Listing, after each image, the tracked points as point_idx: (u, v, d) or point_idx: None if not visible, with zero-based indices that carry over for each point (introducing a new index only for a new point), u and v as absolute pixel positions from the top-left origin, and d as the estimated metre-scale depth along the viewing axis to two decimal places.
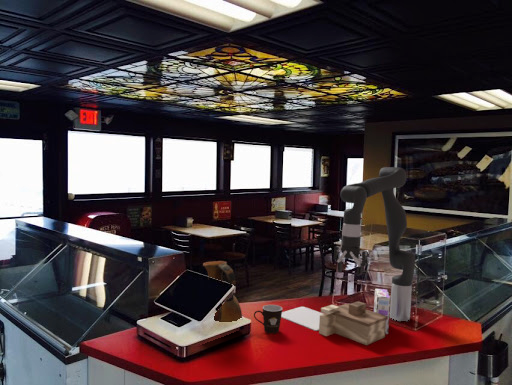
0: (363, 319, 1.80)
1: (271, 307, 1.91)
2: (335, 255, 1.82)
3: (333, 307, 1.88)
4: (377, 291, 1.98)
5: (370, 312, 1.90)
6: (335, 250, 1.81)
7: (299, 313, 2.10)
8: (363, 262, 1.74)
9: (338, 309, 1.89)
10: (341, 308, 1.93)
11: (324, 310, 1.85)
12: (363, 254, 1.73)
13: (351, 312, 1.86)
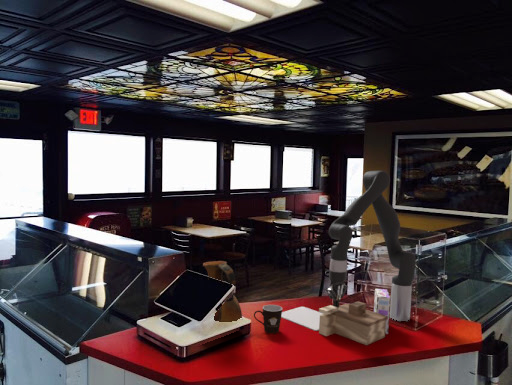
0: (363, 319, 1.80)
1: (271, 307, 1.91)
2: (334, 295, 1.87)
3: (331, 308, 1.87)
4: (377, 291, 1.98)
5: (370, 312, 1.90)
6: (332, 292, 1.86)
7: (299, 313, 2.10)
8: (343, 294, 1.92)
9: (336, 310, 1.88)
10: (341, 308, 1.93)
11: (322, 311, 1.85)
12: (346, 288, 1.93)
13: (351, 312, 1.86)
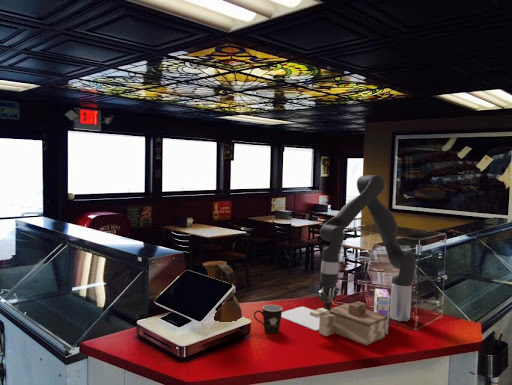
0: (363, 319, 1.80)
1: (271, 307, 1.91)
2: (325, 298, 1.83)
3: (322, 310, 1.83)
4: (377, 291, 1.98)
5: (370, 312, 1.90)
6: (323, 295, 1.82)
7: (299, 313, 2.10)
8: (334, 297, 1.88)
9: (328, 312, 1.84)
10: (341, 308, 1.93)
11: (313, 313, 1.80)
12: (337, 290, 1.89)
13: (351, 312, 1.86)
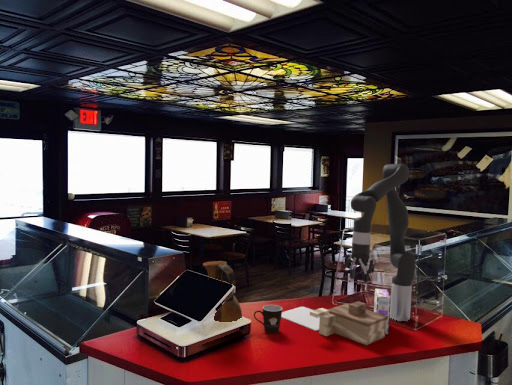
0: (363, 319, 1.80)
1: (271, 307, 1.91)
2: None
3: (322, 310, 1.83)
4: (377, 291, 1.98)
5: (370, 312, 1.90)
6: None
7: (299, 313, 2.10)
8: None
9: (327, 312, 1.84)
10: (341, 308, 1.93)
11: (313, 314, 1.80)
12: None
13: (351, 312, 1.86)
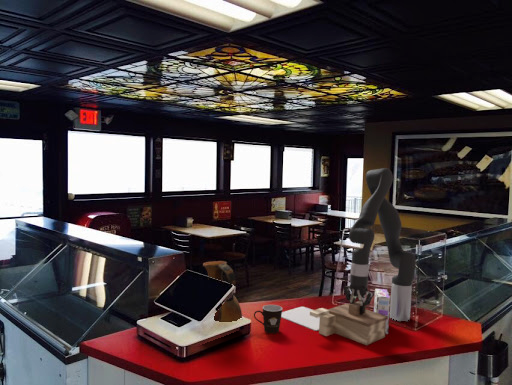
0: (363, 319, 1.80)
1: (271, 307, 1.91)
2: None
3: (322, 310, 1.83)
4: (377, 291, 1.98)
5: (370, 312, 1.90)
6: None
7: (299, 313, 2.10)
8: None
9: (327, 312, 1.84)
10: (341, 308, 1.93)
11: (313, 314, 1.80)
12: None
13: (351, 312, 1.86)
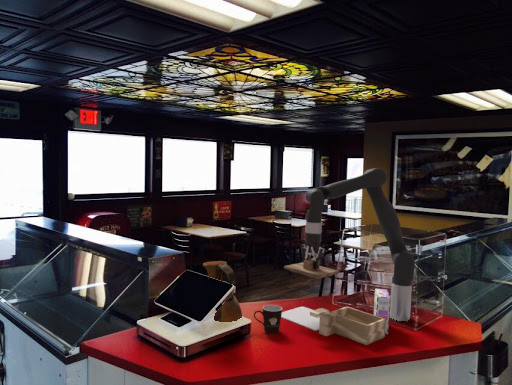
0: (315, 272, 1.96)
1: (271, 307, 1.91)
2: None
3: (322, 310, 1.83)
4: (377, 291, 1.98)
5: (324, 267, 2.06)
6: None
7: (299, 313, 2.10)
8: None
9: (327, 312, 1.84)
10: (298, 265, 2.09)
11: (313, 314, 1.80)
12: None
13: (305, 267, 2.02)
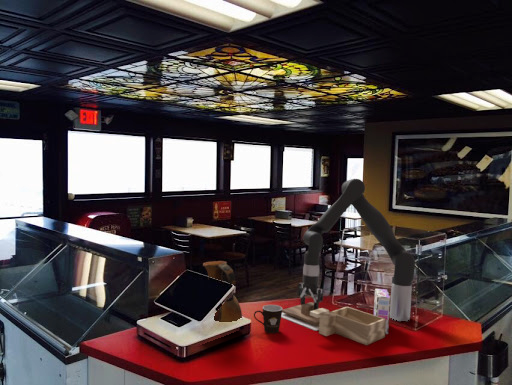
0: (313, 318, 1.98)
1: (271, 307, 1.91)
2: None
3: (322, 310, 1.83)
4: (377, 291, 1.98)
5: None
6: None
7: None
8: None
9: (327, 312, 1.84)
10: (295, 308, 2.10)
11: (313, 314, 1.80)
12: None
13: (303, 312, 2.03)
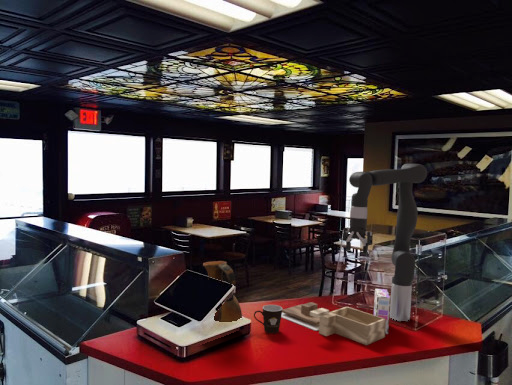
0: (313, 318, 1.98)
1: (271, 307, 1.91)
2: None
3: (322, 310, 1.83)
4: (377, 291, 1.98)
5: None
6: None
7: None
8: None
9: (327, 312, 1.84)
10: (295, 308, 2.10)
11: (313, 314, 1.80)
12: None
13: (303, 312, 2.03)
